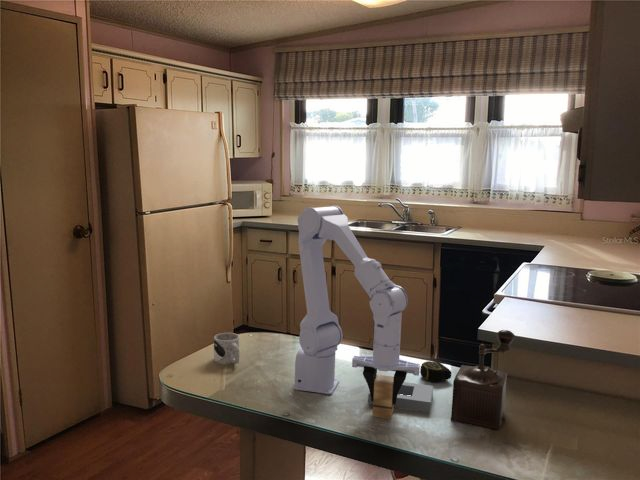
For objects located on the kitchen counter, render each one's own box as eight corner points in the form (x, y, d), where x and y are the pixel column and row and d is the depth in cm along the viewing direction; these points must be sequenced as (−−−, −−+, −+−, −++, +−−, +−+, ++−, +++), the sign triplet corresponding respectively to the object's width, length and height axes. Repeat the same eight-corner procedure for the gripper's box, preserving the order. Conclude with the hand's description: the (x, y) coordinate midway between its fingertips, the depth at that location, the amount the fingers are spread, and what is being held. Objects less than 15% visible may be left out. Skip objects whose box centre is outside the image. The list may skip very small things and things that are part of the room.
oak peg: (372, 416, 120) (374, 381, 119) (375, 407, 124) (377, 374, 123) (391, 419, 119) (393, 384, 118) (393, 410, 123) (395, 376, 122)
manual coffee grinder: (502, 432, 115) (510, 350, 112) (449, 420, 119) (455, 341, 116) (509, 402, 129) (516, 329, 126) (461, 392, 133) (467, 321, 130)
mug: (209, 358, 150) (209, 335, 149) (231, 354, 154) (231, 331, 153) (226, 371, 142) (226, 346, 141) (249, 365, 146) (249, 341, 145)
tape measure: (452, 383, 139) (453, 369, 139) (428, 385, 137) (429, 371, 137) (438, 372, 146) (439, 359, 145) (415, 374, 144) (416, 361, 143)
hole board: (368, 403, 126) (368, 393, 126) (374, 387, 135) (374, 378, 134) (430, 412, 123) (430, 402, 122) (432, 395, 131) (433, 385, 131)
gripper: (350, 344, 117) (347, 404, 119) (419, 352, 113) (415, 414, 116) (356, 333, 124) (354, 390, 126) (421, 341, 120) (418, 399, 122)
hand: (383, 401), depth 121 cm, fingers closed on oak peg, 4 cm apart
